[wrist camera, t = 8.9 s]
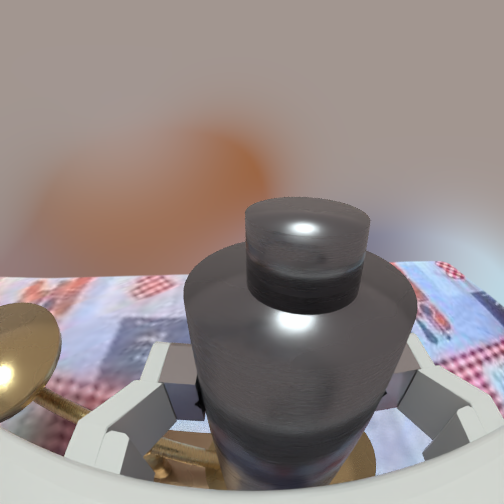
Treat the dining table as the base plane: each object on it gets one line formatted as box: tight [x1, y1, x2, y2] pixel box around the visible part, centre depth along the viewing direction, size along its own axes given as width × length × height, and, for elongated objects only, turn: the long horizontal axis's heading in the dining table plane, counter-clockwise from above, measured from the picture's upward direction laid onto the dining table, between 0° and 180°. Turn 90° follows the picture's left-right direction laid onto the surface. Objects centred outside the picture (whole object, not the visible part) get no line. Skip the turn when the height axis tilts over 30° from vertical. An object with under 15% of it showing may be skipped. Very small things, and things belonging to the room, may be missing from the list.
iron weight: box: [184, 197, 417, 491], centre depth 8 cm, size 5×5×12 cm
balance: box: [0, 303, 376, 490], centre depth 14 cm, size 32×12×13 cm, turn 91°
